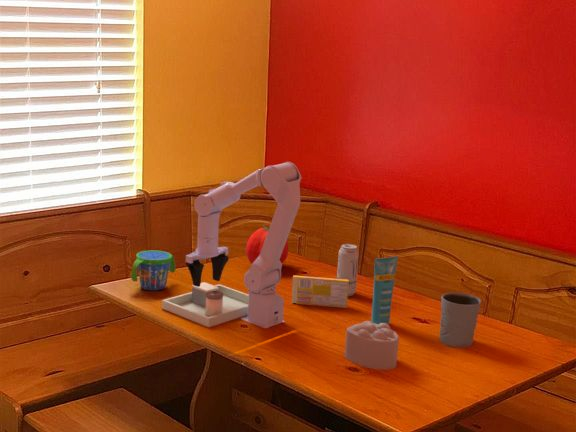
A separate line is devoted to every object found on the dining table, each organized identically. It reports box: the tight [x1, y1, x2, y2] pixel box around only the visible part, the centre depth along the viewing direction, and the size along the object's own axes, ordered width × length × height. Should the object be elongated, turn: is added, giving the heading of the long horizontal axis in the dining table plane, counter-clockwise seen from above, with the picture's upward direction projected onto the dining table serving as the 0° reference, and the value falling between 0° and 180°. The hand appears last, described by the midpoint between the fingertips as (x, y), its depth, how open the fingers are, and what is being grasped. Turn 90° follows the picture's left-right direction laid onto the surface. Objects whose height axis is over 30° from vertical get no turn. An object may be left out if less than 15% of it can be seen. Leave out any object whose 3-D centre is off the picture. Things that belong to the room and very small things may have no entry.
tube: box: [370, 255, 399, 326], centre depth 228 cm, size 7×5×19 cm, turn 123°
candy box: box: [291, 274, 349, 309], centre depth 242 cm, size 16×2×8 cm, turn 84°
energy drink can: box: [336, 243, 360, 297], centre depth 252 cm, size 6×6×15 cm
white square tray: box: [161, 284, 249, 328], centre depth 232 cm, size 19×22×3 cm
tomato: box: [245, 224, 289, 265], centre depth 273 cm, size 16×14×14 cm
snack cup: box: [130, 249, 177, 292], centre depth 248 cm, size 16×10×10 cm
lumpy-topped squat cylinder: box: [344, 320, 400, 370], centre depth 205 cm, size 10×13×9 cm
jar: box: [205, 291, 223, 317], centre depth 225 cm, size 5×5×7 cm
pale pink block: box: [191, 281, 219, 308], centre depth 236 cm, size 6×5×5 cm
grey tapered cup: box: [439, 292, 482, 349], centre depth 219 cm, size 10×10×12 cm
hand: (206, 282), depth 235 cm, fingers open, 7 cm apart
